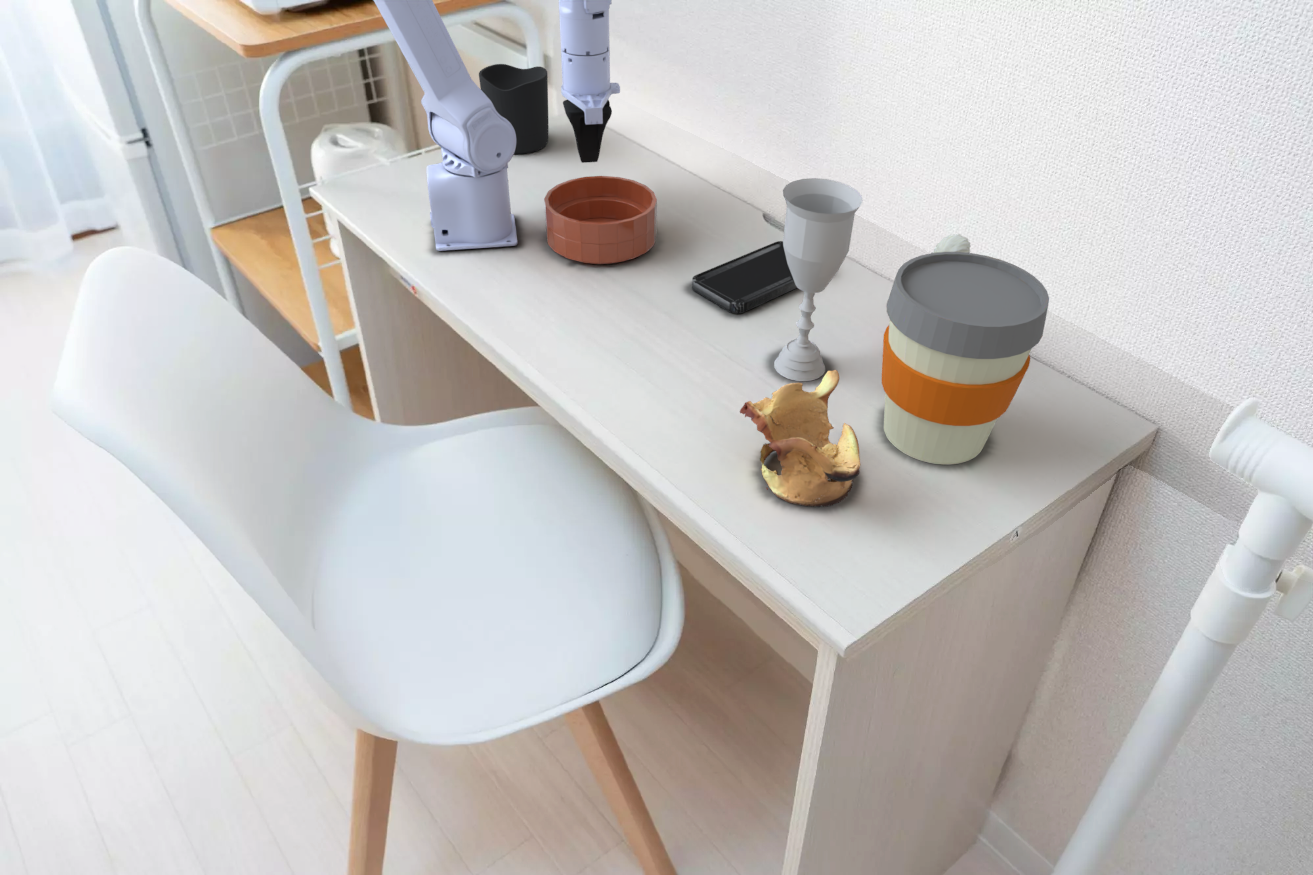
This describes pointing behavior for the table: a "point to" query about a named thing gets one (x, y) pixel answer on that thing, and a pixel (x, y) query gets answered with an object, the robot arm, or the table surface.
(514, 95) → the pen holder
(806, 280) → the chalice
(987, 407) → the reusable coffee cup
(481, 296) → the table surface
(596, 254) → the bowl
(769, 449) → the yellow irregular figure
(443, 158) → the robot arm
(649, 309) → the table surface
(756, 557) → the table surface
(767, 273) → the phone
